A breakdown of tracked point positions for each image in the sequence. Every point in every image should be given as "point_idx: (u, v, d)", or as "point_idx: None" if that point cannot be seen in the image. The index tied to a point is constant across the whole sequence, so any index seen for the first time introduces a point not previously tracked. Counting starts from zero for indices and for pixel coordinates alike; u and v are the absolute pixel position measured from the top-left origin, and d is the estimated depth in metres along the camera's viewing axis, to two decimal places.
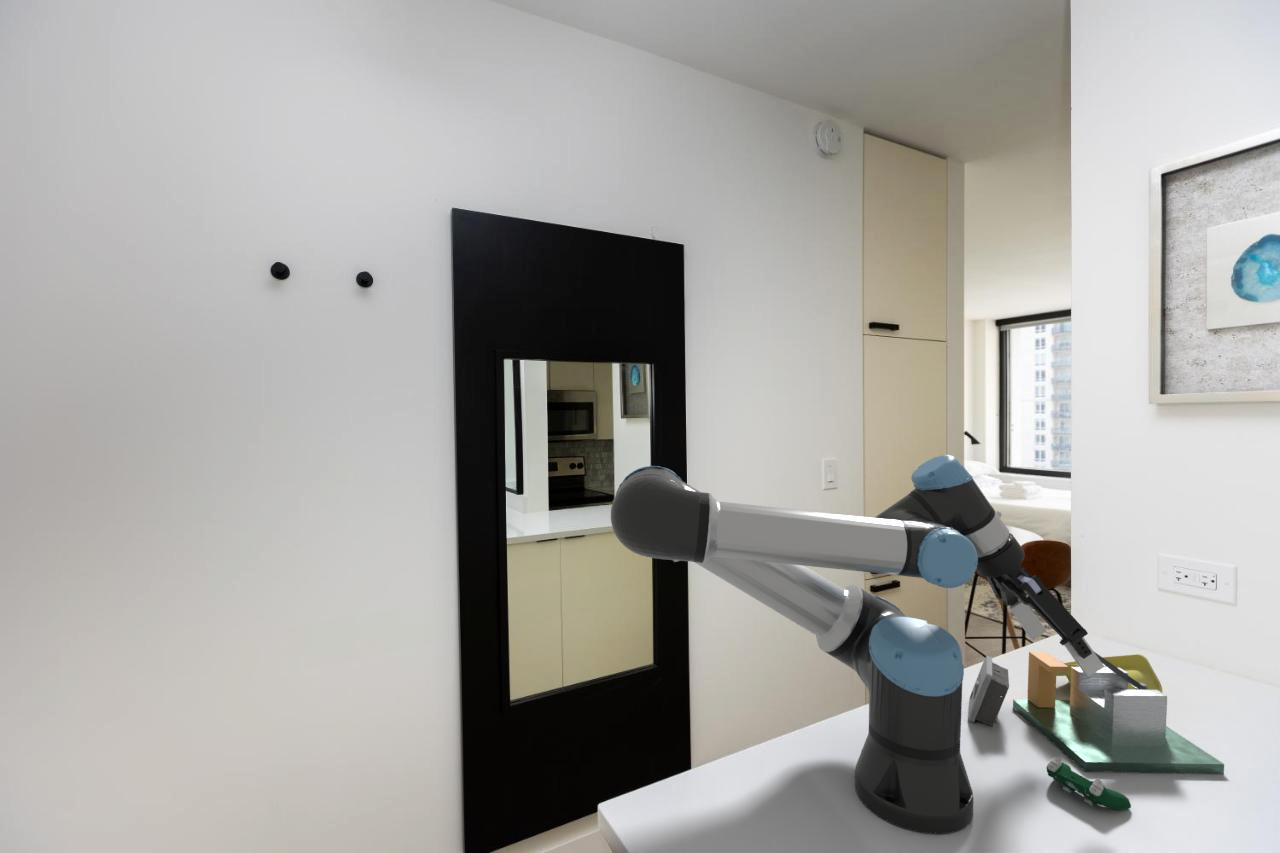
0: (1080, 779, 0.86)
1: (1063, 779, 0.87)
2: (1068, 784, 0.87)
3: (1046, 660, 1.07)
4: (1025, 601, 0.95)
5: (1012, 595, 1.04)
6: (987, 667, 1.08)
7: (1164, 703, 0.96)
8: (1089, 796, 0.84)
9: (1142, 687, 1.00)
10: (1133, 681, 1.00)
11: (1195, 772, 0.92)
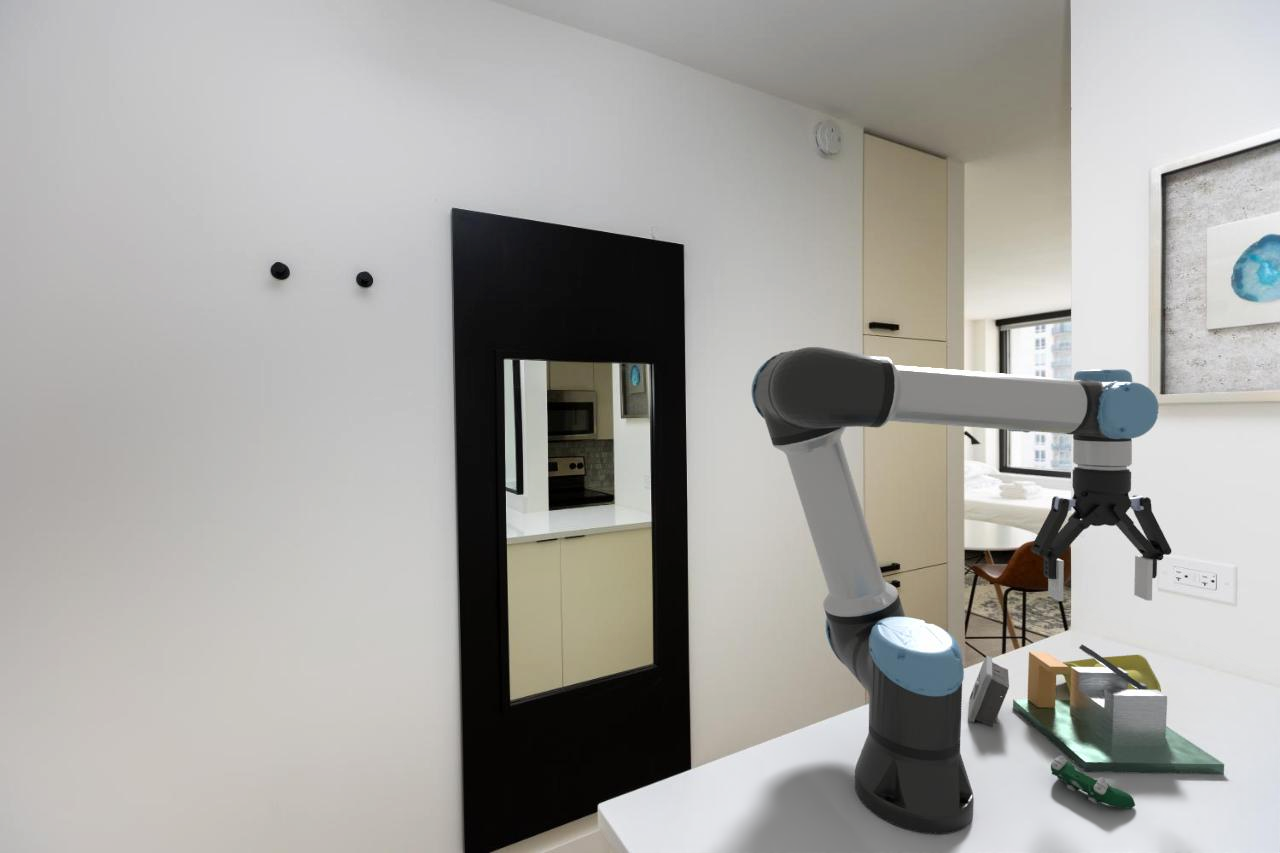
0: (1084, 778, 0.86)
1: (1067, 777, 0.88)
2: (1072, 782, 0.87)
3: (1046, 660, 1.07)
4: (1132, 522, 0.98)
5: None
6: (987, 667, 1.08)
7: (1164, 703, 0.96)
8: (1093, 794, 0.85)
9: (1142, 687, 1.00)
10: (1133, 681, 1.00)
11: (1195, 772, 0.92)
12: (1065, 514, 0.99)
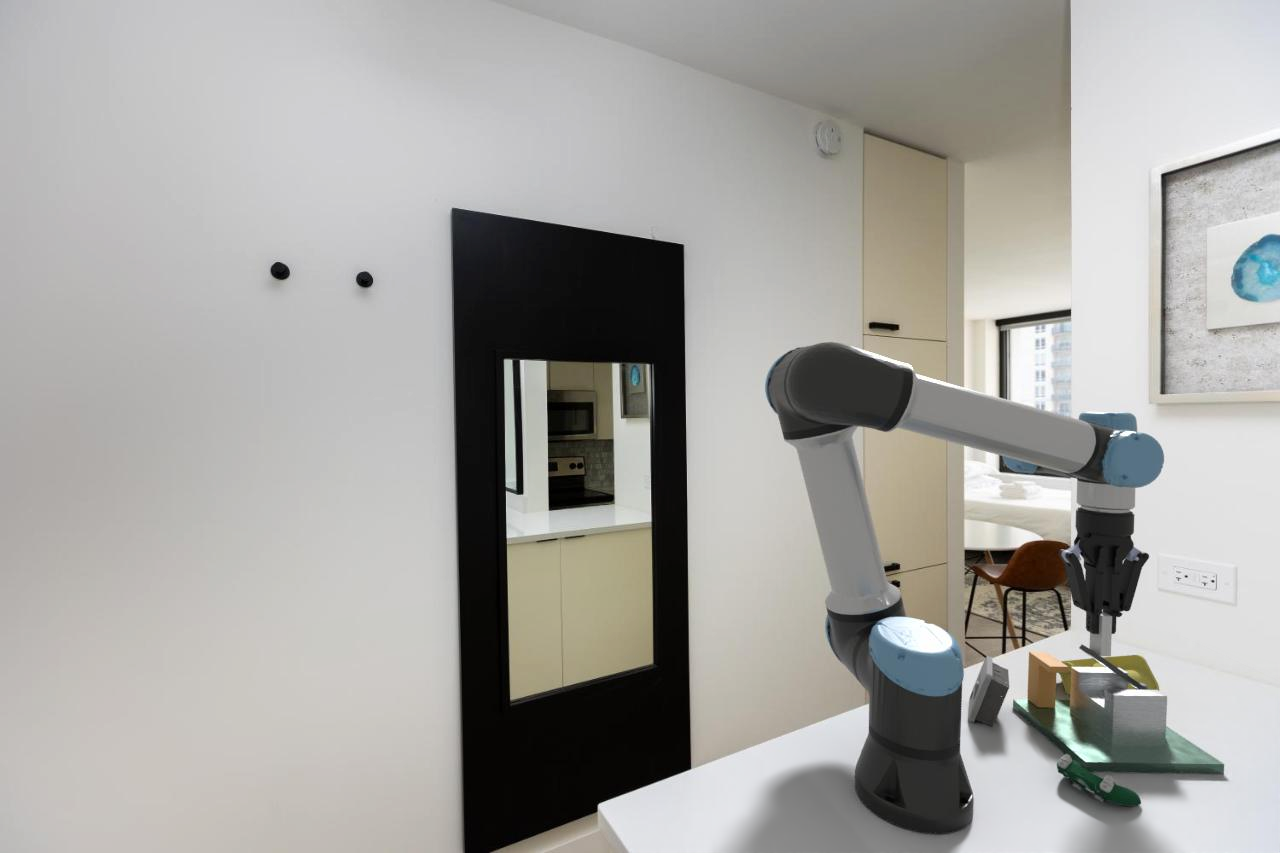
0: (1090, 776, 0.87)
1: (1073, 776, 0.88)
2: (1078, 781, 0.88)
3: (1046, 660, 1.07)
4: (1121, 571, 0.99)
5: None
6: (987, 667, 1.08)
7: (1164, 703, 0.96)
8: (1099, 792, 0.85)
9: (1142, 687, 1.00)
10: (1133, 681, 1.00)
11: (1195, 772, 0.92)
12: (1079, 565, 1.00)
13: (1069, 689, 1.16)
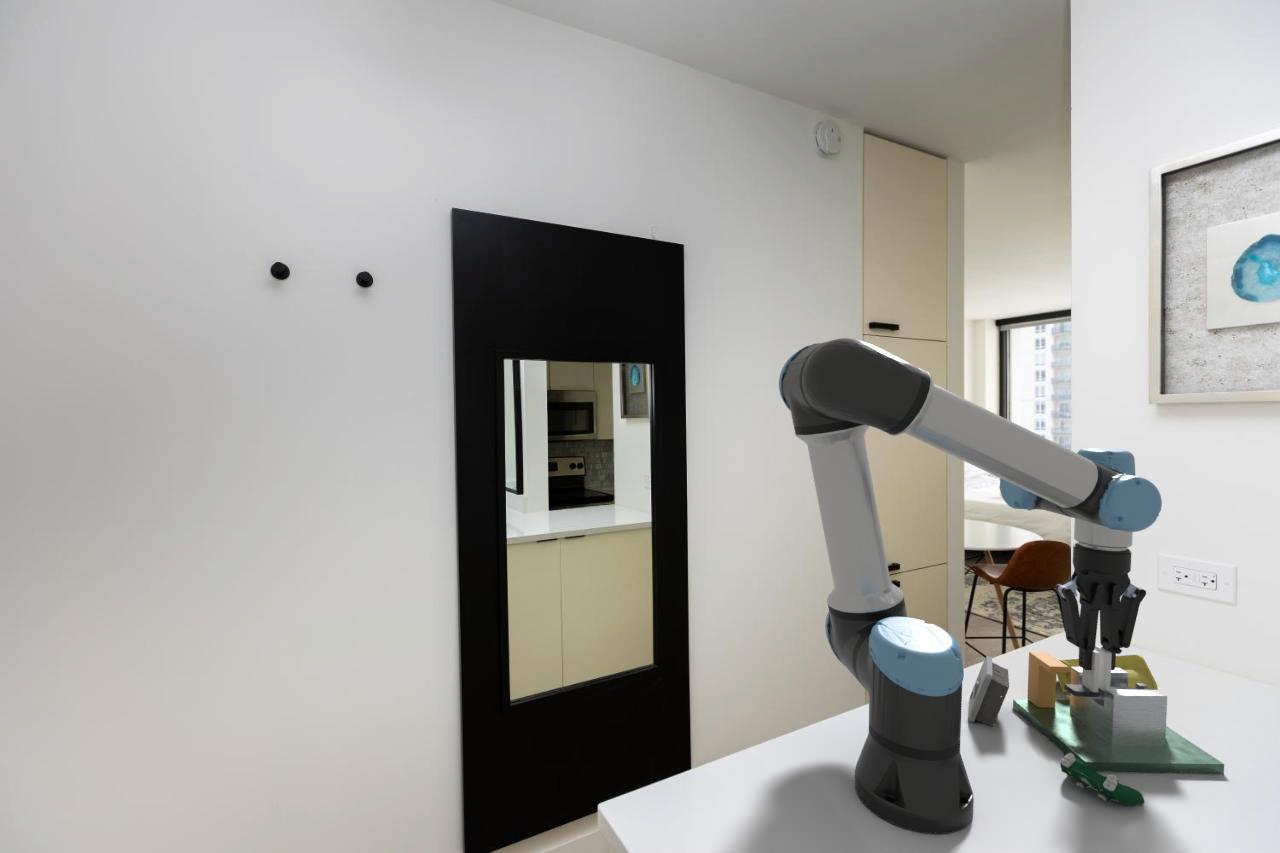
0: (1094, 775, 0.87)
1: (1077, 774, 0.88)
2: (1082, 779, 0.88)
3: (1046, 660, 1.07)
4: (1119, 608, 0.99)
5: None
6: (987, 667, 1.08)
7: (1164, 703, 0.96)
8: (1103, 791, 0.85)
9: None
10: None
11: (1195, 772, 0.92)
12: (1075, 601, 1.00)
13: None
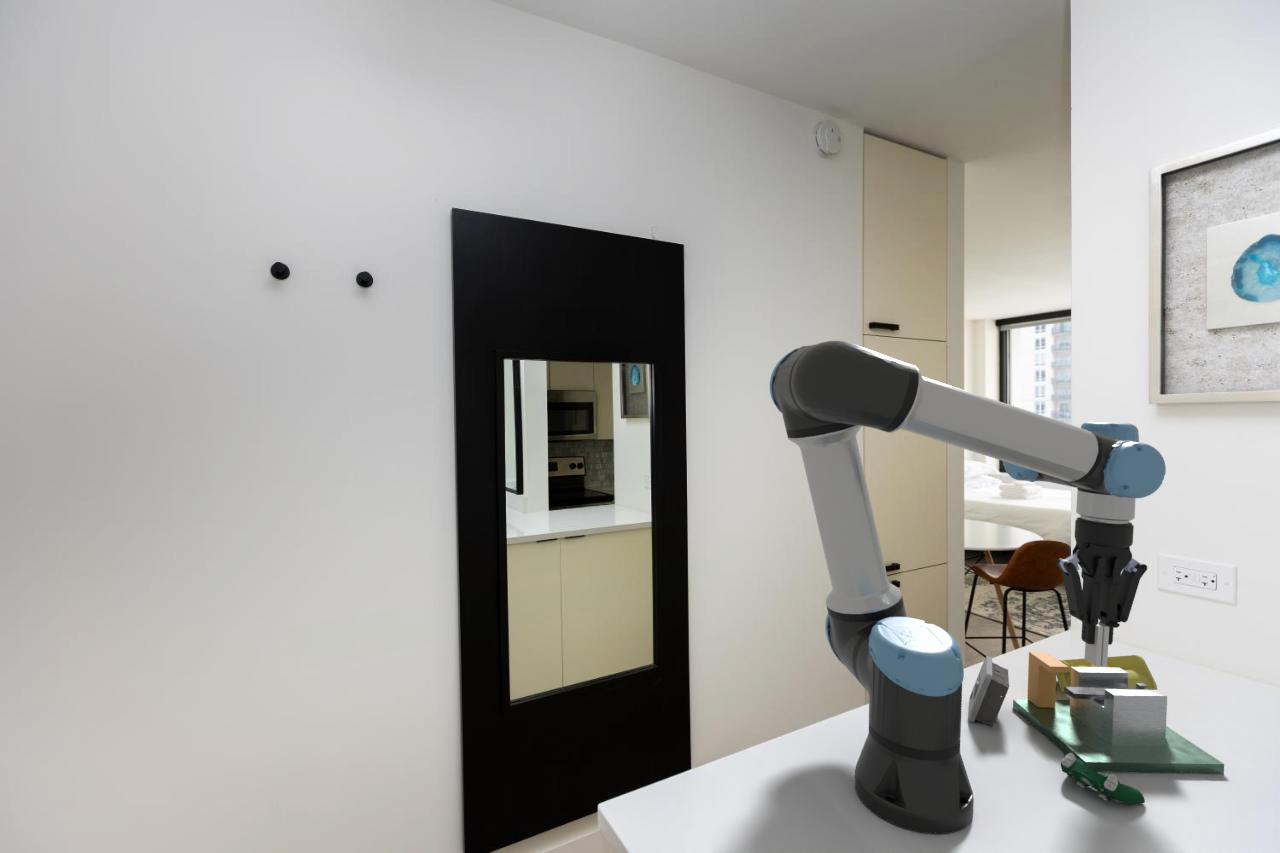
0: (1094, 775, 0.87)
1: (1077, 774, 0.88)
2: (1082, 779, 0.88)
3: (1046, 660, 1.07)
4: (1119, 582, 0.99)
5: None
6: (987, 667, 1.08)
7: (1164, 703, 0.96)
8: (1104, 791, 0.85)
9: None
10: None
11: (1195, 772, 0.92)
12: (1077, 575, 1.00)
13: None
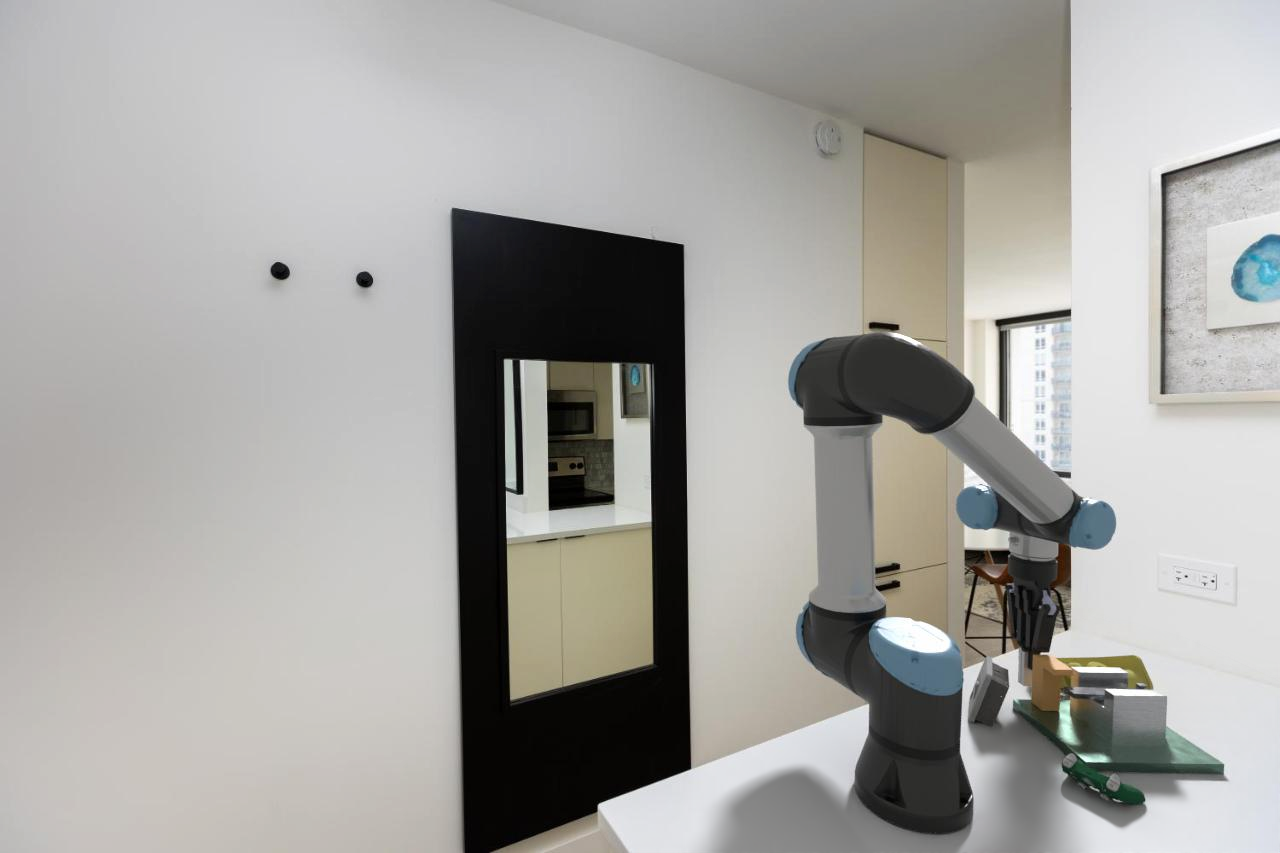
0: (1096, 775, 0.87)
1: (1079, 775, 0.88)
2: (1084, 780, 0.88)
3: (1051, 663, 1.06)
4: None
5: None
6: (987, 667, 1.08)
7: (1164, 703, 0.96)
8: (1106, 791, 0.85)
9: None
10: None
11: (1195, 772, 0.92)
12: None
13: None
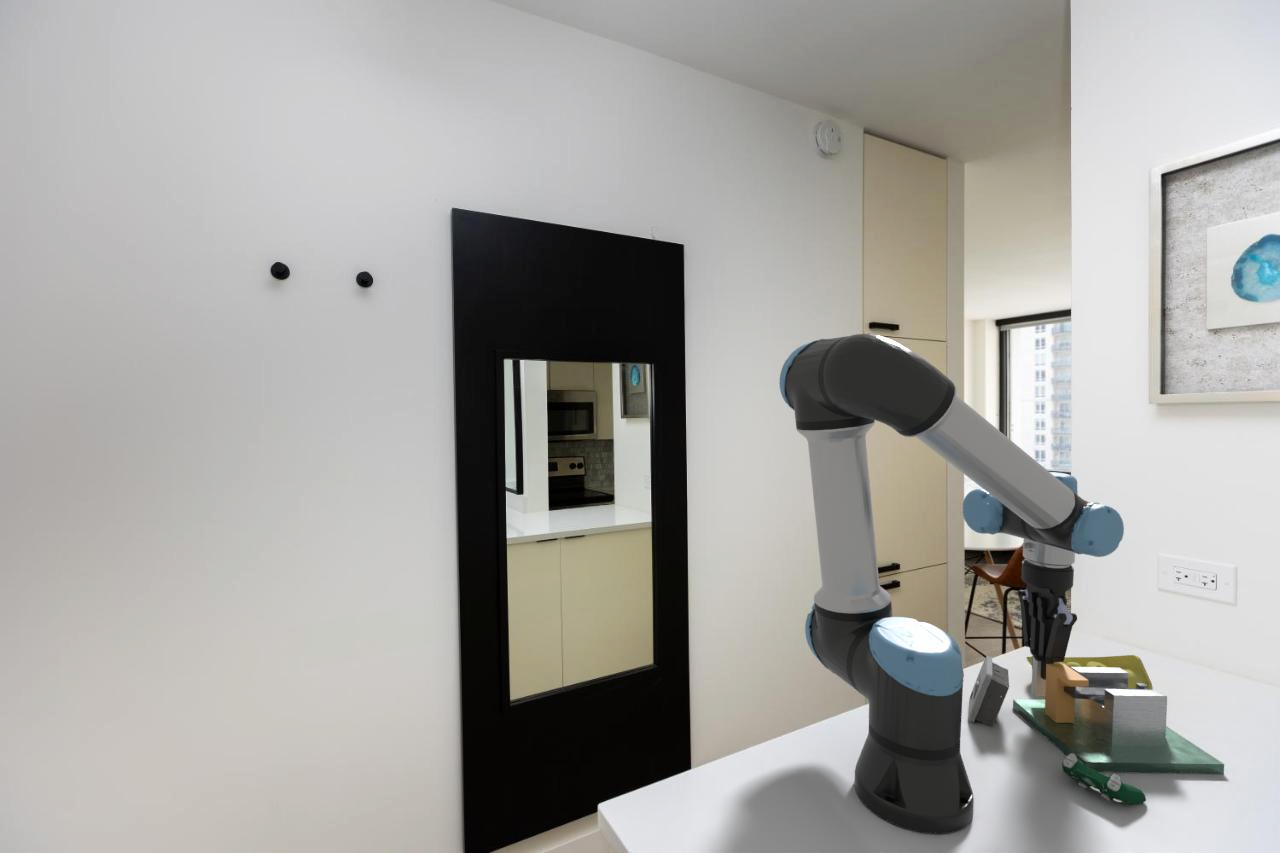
0: (1097, 775, 0.87)
1: (1080, 775, 0.88)
2: (1085, 780, 0.88)
3: (1065, 673, 1.02)
4: None
5: None
6: (987, 667, 1.08)
7: (1164, 703, 0.96)
8: (1107, 791, 0.85)
9: None
10: None
11: (1195, 772, 0.92)
12: None
13: None
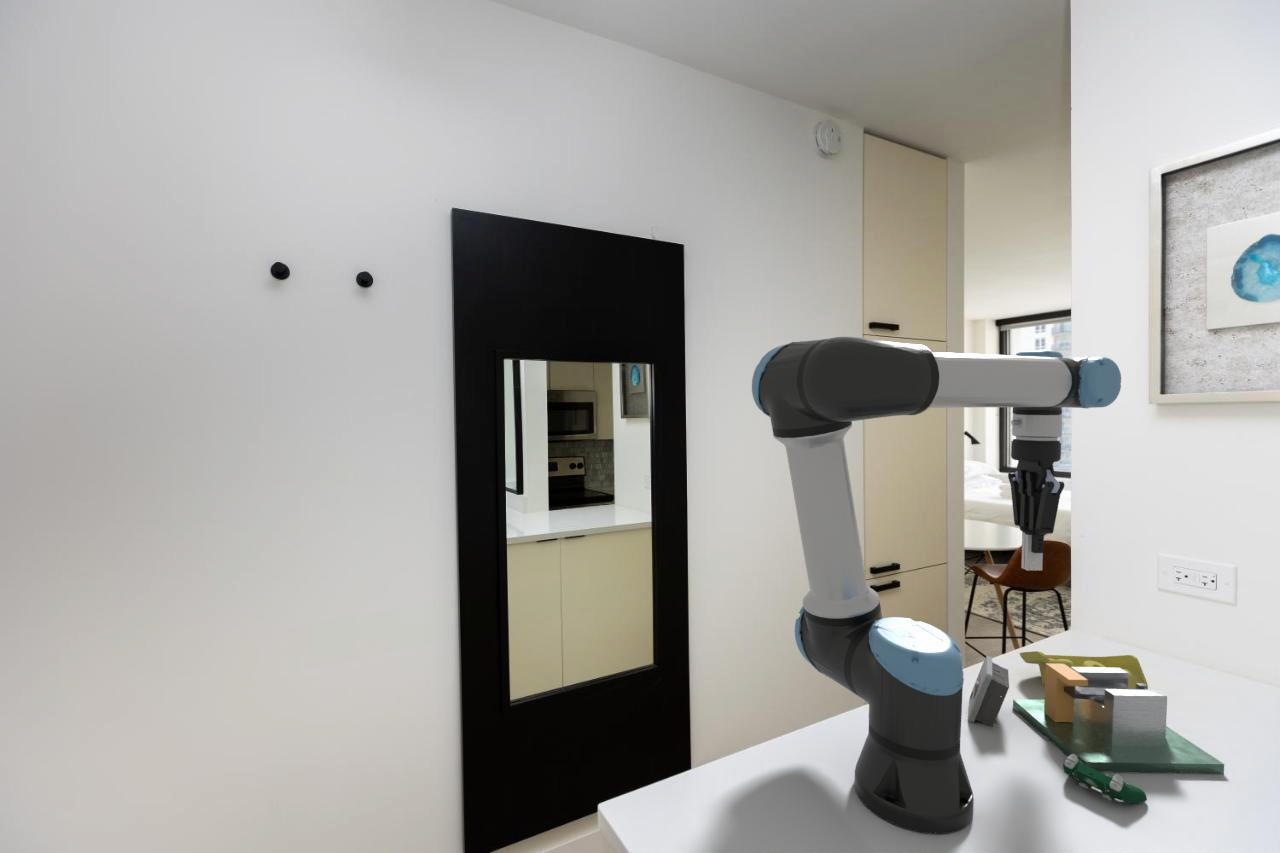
0: (1099, 775, 0.87)
1: (1082, 776, 0.88)
2: (1086, 780, 0.88)
3: (1064, 673, 1.03)
4: None
5: None
6: (987, 667, 1.08)
7: (1164, 703, 0.96)
8: (1109, 792, 0.85)
9: None
10: None
11: (1195, 772, 0.92)
12: None
13: None
